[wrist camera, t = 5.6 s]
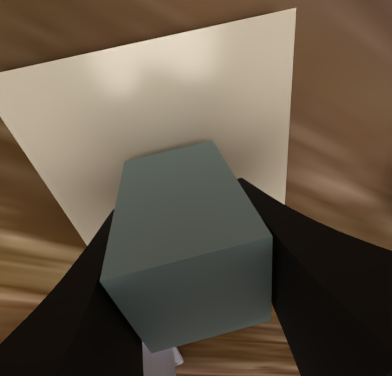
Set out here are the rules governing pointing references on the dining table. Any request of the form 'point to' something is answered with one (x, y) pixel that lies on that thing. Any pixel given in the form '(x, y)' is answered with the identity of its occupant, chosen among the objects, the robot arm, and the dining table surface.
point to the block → (186, 249)
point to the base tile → (156, 110)
